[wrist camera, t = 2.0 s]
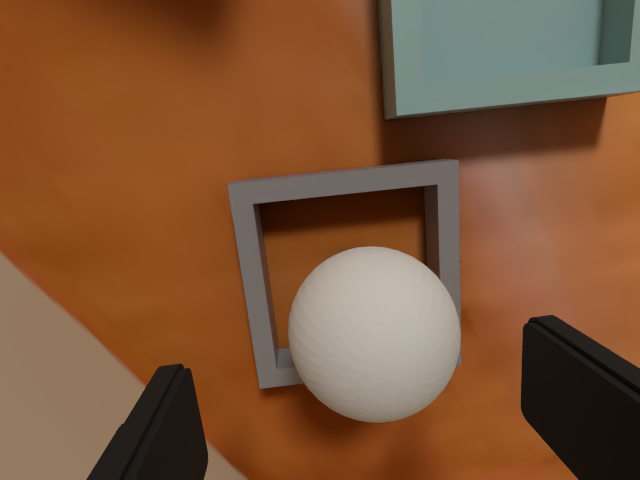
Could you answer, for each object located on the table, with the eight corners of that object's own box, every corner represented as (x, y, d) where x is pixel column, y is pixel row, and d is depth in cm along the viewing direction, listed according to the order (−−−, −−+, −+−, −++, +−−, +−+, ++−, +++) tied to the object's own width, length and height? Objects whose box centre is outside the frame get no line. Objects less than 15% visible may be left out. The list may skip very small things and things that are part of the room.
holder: (442, 158, 19) (458, 159, 17) (446, 345, 21) (461, 365, 19) (235, 180, 19) (227, 184, 17) (263, 366, 21) (259, 388, 19)
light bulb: (333, 338, 21) (360, 501, 11) (270, 256, 20) (240, 359, 10) (422, 280, 20) (532, 399, 11) (364, 191, 19) (427, 235, 9)
